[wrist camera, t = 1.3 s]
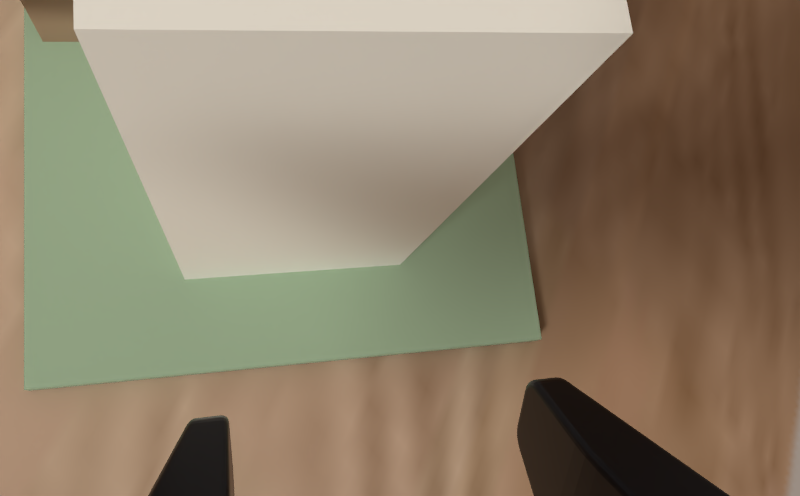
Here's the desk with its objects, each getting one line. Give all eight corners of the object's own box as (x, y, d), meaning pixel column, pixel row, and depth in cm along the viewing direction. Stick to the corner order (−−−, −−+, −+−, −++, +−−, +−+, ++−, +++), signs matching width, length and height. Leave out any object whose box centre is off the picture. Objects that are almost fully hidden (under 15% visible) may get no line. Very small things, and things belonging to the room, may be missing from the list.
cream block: (400, 264, 21) (632, 33, 8) (184, 279, 19) (74, 29, 7) (371, 15, 22) (530, -490, 10) (171, 13, 21) (63, -576, 8)
